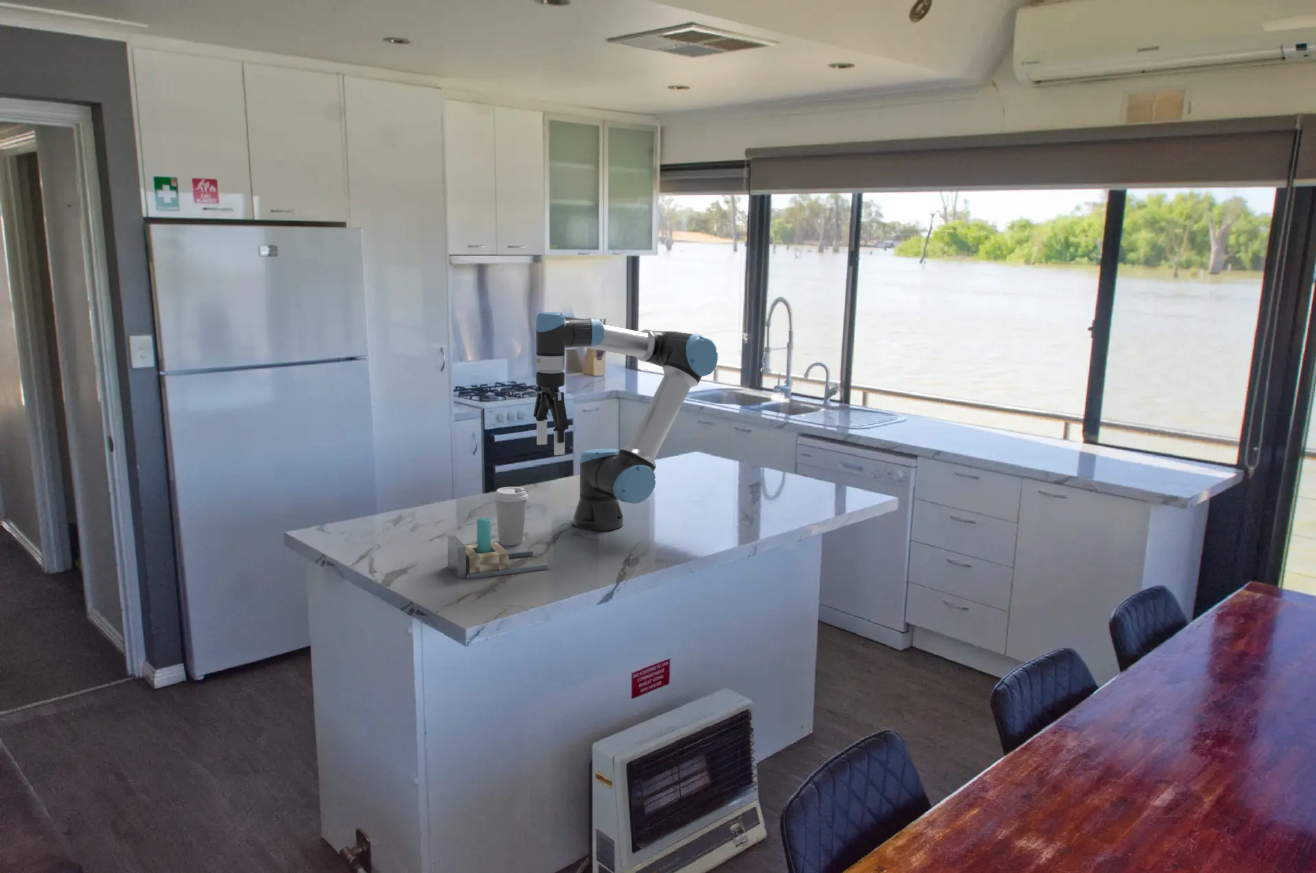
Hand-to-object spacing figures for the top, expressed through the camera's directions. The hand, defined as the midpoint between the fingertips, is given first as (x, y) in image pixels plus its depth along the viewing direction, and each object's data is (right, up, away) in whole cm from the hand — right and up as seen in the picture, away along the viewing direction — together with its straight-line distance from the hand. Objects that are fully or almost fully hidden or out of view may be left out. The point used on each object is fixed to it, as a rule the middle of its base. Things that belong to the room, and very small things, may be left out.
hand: (550, 449), depth 250 cm
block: (-16, -30, -11) cm, 36 cm away
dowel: (-16, -29, -12) cm, 35 cm away
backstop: (-13, -30, -10) cm, 34 cm away
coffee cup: (-12, -26, +11) cm, 31 cm away
